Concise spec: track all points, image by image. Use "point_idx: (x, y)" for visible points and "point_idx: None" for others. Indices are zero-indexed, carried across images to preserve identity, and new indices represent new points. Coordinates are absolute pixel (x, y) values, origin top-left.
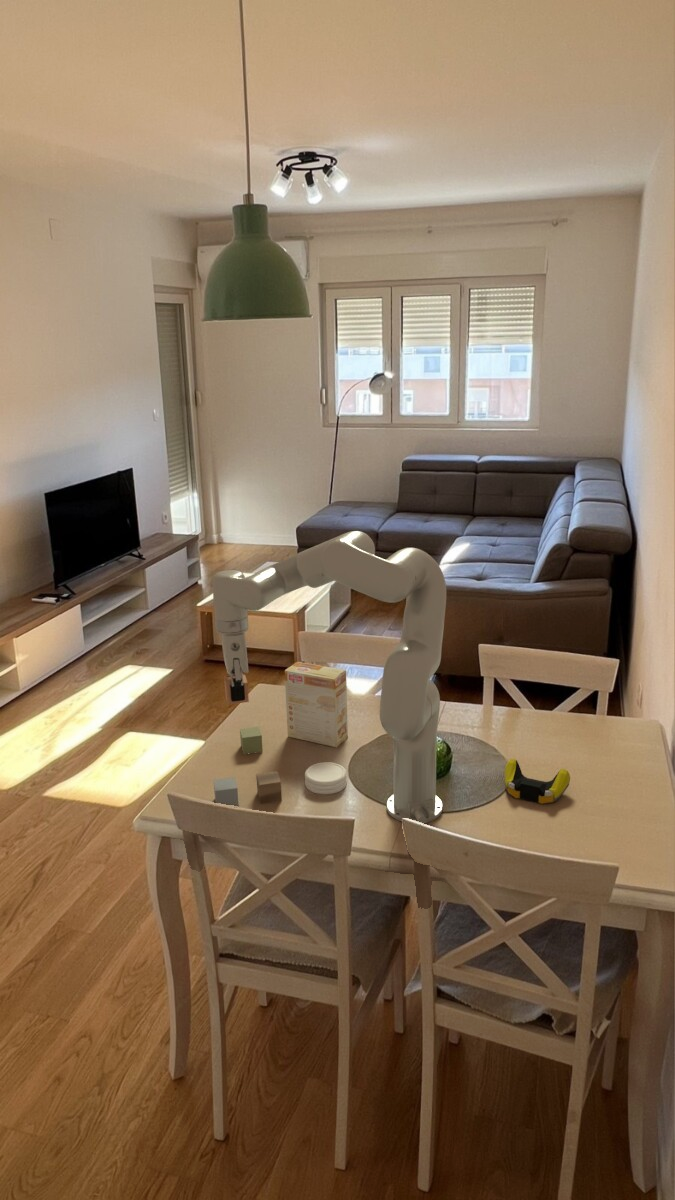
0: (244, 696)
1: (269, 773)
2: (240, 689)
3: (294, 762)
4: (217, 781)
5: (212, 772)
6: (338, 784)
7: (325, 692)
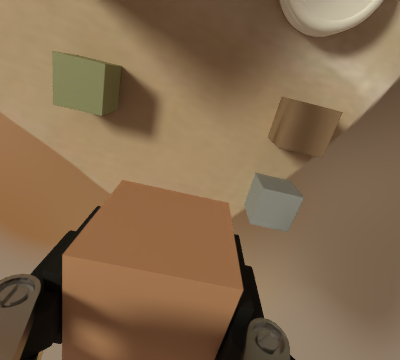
0: (239, 246)
1: (293, 121)
2: (261, 312)
3: (197, 11)
4: (259, 219)
5: (160, 183)
6: None
7: None
